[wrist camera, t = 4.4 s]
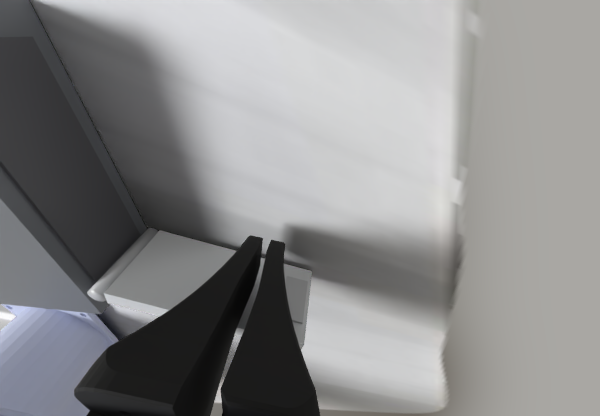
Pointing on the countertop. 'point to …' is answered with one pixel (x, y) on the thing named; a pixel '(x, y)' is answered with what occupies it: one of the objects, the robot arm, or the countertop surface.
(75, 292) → the grey box
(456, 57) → the countertop surface
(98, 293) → the side door
